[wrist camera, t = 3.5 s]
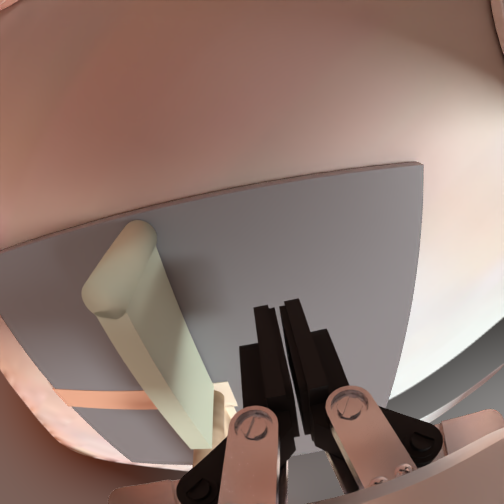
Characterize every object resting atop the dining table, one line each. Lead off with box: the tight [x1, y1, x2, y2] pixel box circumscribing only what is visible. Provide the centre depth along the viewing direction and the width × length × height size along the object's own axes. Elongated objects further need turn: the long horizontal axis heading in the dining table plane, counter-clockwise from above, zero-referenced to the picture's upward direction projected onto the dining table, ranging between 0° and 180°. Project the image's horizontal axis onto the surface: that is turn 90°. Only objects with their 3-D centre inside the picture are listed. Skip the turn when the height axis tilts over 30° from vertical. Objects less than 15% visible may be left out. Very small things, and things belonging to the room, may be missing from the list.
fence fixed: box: [193, 390, 231, 467], centre depth 19 cm, size 14×2×6 cm, turn 11°
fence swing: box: [81, 220, 214, 449], centre depth 13 cm, size 11×2×4 cm, turn 11°
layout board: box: [0, 162, 424, 465], centre depth 19 cm, size 26×26×1 cm
